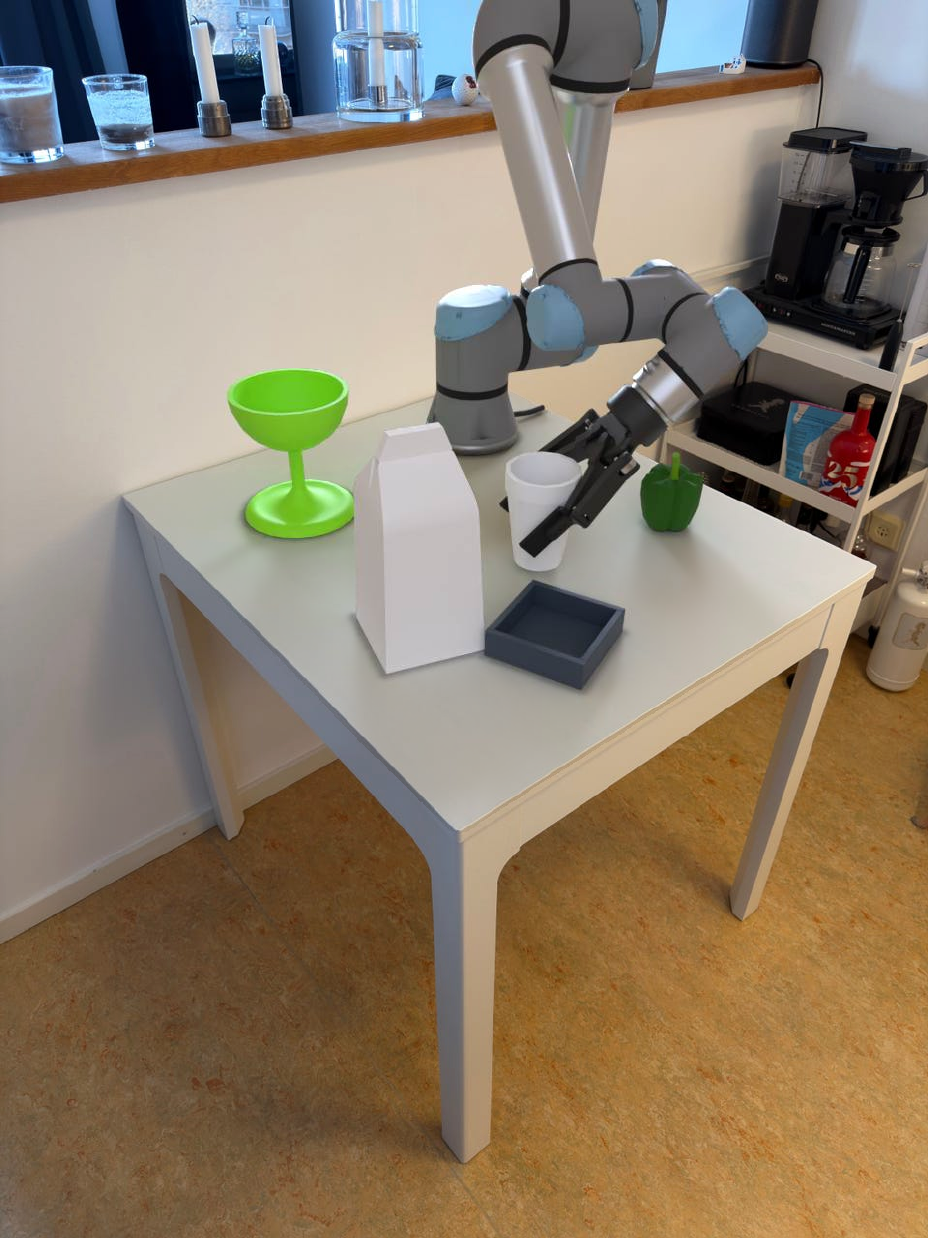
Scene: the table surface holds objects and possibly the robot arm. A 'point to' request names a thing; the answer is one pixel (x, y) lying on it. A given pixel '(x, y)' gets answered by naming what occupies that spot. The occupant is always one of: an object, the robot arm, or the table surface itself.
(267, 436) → the wineglass
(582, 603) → the tray
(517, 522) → the foam cup
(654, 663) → the table surface
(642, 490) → the bell pepper
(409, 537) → the milk
